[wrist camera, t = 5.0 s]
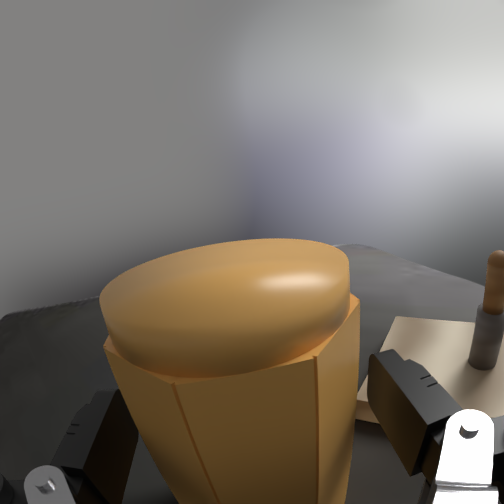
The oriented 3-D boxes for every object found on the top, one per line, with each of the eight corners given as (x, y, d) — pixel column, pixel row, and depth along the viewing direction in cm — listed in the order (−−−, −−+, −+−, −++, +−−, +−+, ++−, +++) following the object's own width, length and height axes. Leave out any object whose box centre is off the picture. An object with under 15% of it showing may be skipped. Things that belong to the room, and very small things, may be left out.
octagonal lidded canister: (173, 518, 10) (62, 294, 7) (252, 444, 14) (212, 237, 12) (290, 583, 6) (248, 364, 4) (359, 480, 11) (377, 240, 8)
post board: (353, 417, 15) (356, 276, 13) (395, 332, 23) (397, 227, 21) (574, 436, 7) (632, 289, 5) (552, 343, 15) (572, 234, 13)
